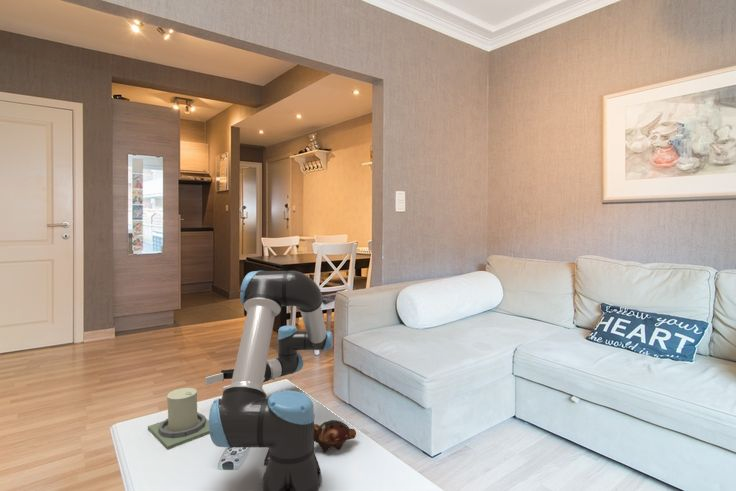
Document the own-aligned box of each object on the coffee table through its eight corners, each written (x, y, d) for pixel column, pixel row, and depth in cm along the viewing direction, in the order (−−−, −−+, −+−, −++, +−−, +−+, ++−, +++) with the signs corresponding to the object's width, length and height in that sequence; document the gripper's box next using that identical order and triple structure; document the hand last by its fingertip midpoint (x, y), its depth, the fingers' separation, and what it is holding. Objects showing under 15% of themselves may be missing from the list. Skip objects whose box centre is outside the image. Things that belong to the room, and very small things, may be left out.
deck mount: (218, 430, 134) (217, 423, 134) (167, 449, 123) (167, 441, 122) (195, 413, 147) (195, 406, 146) (147, 429, 135) (147, 421, 135)
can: (186, 435, 129) (185, 398, 129) (161, 432, 131) (160, 396, 130) (203, 421, 138) (202, 387, 138) (180, 419, 140) (179, 385, 139)
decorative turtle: (303, 445, 125) (304, 419, 125) (348, 437, 131) (349, 412, 131) (312, 459, 116) (313, 431, 116) (360, 450, 122) (361, 424, 123)
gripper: (285, 388, 148) (231, 407, 133) (250, 372, 166) (199, 387, 150) (285, 368, 148) (231, 384, 133) (250, 354, 165) (199, 367, 150)
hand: (214, 386), depth 142 cm, fingers open, 13 cm apart
